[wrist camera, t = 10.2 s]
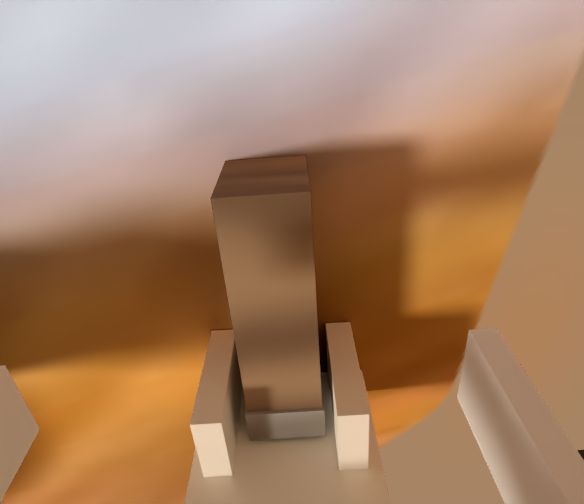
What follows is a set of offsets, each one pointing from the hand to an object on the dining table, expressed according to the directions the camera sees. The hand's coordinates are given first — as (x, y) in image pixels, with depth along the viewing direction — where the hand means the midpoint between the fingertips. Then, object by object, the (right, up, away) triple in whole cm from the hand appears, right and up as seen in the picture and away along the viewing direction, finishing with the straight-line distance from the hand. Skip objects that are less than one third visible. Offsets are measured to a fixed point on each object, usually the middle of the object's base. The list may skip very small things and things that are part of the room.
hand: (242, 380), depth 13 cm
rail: (+1, +2, +12) cm, 13 cm away
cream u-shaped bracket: (+1, -3, +16) cm, 16 cm away
